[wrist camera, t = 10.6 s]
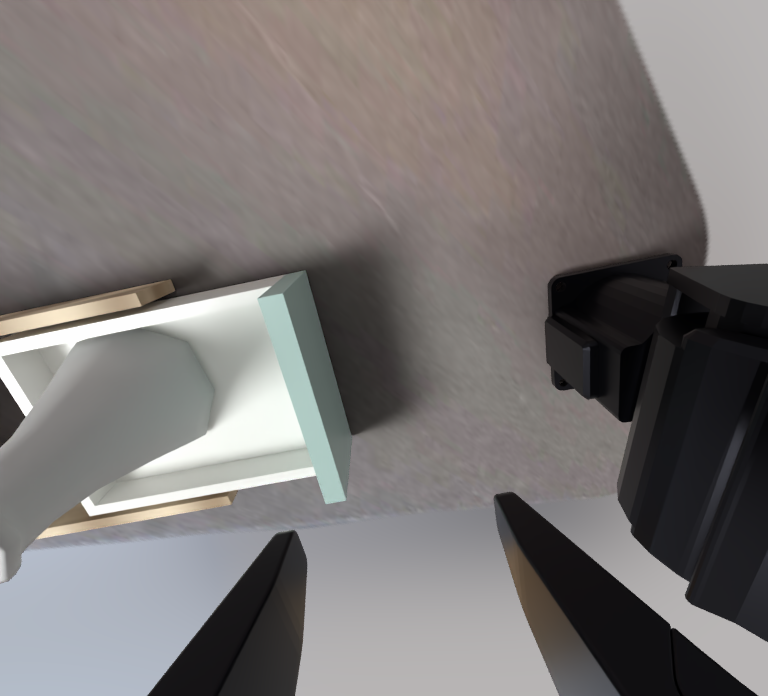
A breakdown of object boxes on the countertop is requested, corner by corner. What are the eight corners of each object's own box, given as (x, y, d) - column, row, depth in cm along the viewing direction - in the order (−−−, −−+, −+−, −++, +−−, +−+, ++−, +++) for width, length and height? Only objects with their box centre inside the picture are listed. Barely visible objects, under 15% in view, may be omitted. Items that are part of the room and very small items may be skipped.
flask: (227, 444, 21) (112, 634, 12) (97, 446, 21) (-122, 639, 12) (205, 322, 19) (36, 444, 9) (56, 322, 19) (-266, 447, 9)
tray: (305, 270, 19) (282, 293, 14) (352, 438, 23) (346, 500, 18) (33, 327, 20) (-74, 366, 15) (121, 480, 23) (58, 550, 19)
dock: (170, 279, 19) (39, 330, 12) (248, 468, 23) (189, 593, 16) (-97, 336, 20) (-382, 418, 12) (26, 508, 24) (-129, 646, 17)
